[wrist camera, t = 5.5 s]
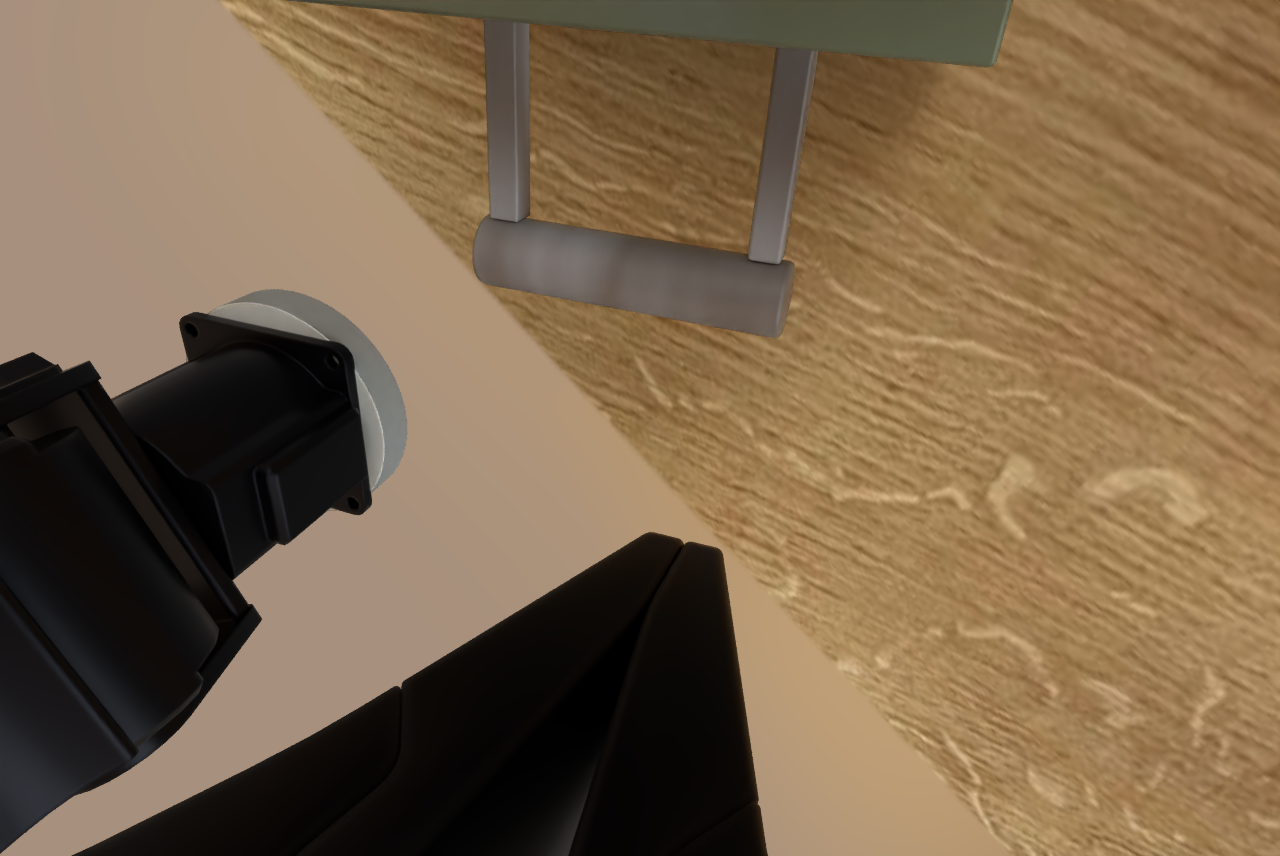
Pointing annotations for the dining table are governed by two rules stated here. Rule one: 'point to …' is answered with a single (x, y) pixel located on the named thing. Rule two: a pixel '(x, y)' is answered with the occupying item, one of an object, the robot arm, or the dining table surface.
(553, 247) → the drawer
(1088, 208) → the dining table surface
